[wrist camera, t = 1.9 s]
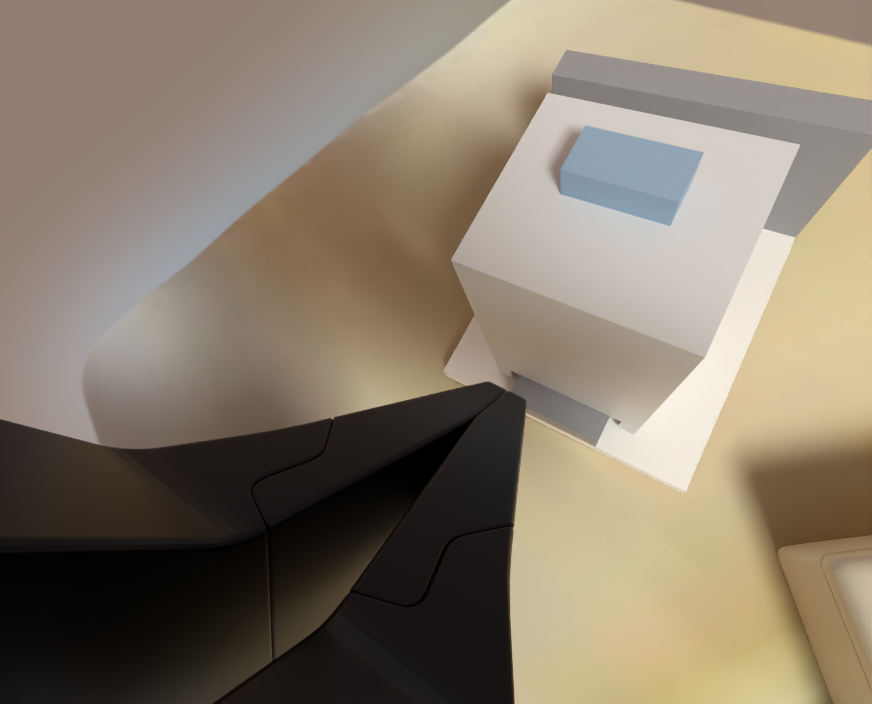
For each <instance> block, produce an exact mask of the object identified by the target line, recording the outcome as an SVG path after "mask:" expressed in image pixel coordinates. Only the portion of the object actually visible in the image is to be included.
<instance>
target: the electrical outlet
mask: <svg viewBox="0 0 872 704" xmlns="http://www.w3.org/2000/svg"><path fill="white" fill-rule="evenodd" d="M777 554H778V559H779V562H780V564H781V567H782V569H783V572H784V575H785V577H786V580H787V583H788V585H789V588H790V591H791V593H792V596H793V599H794V601H795V604H796V607H797V609H798V612H799V614H800V617H801V620H802V622H803V625H804V628H805V630H806V633H807V636H808V638H809V641H810V644H811V646H812V649H813V652H814V654H815V657H816V659H817V662H818V665H819V667H820V670H821V673H822V675H823V678H824V681H825V683H826V686H827V689H828V691H829V694H830V697H831V699H832V702H833V704H872V535H867V536H859V537H851V538H843V539H835V540H827V541H819V542H812V543H804V544H796V545H788V546H783V547H781V548H780V549H779V550H778V553H777Z"/></svg>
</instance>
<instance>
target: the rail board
mask: <svg viewBox="0 0 872 704" xmlns="http://www.w3.org/2000/svg"><path fill="white" fill-rule="evenodd" d="M552 94H556V95H561V96H566V97H571V98H576V99H581V100H585V101H590V102H595V103H600V104H605V105H610V106H615V107H620V108H624V109H629V110H634V111H639V112H644V113H649V114H654V115H658V116H663V117H668V118H673V119H678V120H683V121H688V122H693V123H697V124H702V125H707V126H712V127H717V128H722V129H727V130H731V131H736V132H741V133H746V134H751V135H756V136H761V137H766V138H770V139H775V140H780V141H785V142H790V143H795V144H800V147H799V149H798V151H797V153H796V156H795V158H794V160H793V162H792V165H791V167H790V169H789V171H788V174H787V176H786V178H785V180H784V182H783V185H782V187H781V189H780V191H779V194H778V196H777V198H776V200H775V203H774V205H773V207H772V209H771V211H770V214H769V216H768V218H767V220H766V223H765V225H764V227H763V229H762V232H761V234H760V236H759V238H758V240H757V243H756V245H755V247H754V249H753V252H752V254H751V256H750V258H749V261H748V263H747V265H746V267H745V269H744V272H743V274H742V276H741V278H740V281H739V283H738V285H737V287H736V290H735V292H734V294H733V296H732V298H731V301H730V303H729V305H728V307H727V310H726V312H725V314H724V316H723V318H722V321H721V323H720V325H719V327H718V330H717V332H716V334H715V336H714V339H713V341H712V343H711V345H710V347H709V350H708V352H707V354H706V356H705V358H704V359H703V360H702V361H701V362H700V364H699V365H698V366H697V367H696V368H695V369H694V370H693V371H692V372H691V373H690V374H689V375H688V377H687V378H686V379H685V380H684V381H683V382H682V383H681V384H680V385H679V386H678V387H677V388H676V390H675V391H674V392H673V393H672V394H671V395H670V396H669V397H668V398H667V399H666V400H665V401H664V403H663V404H662V405H661V406H660V407H659V408H658V409H657V410H656V411H655V412H654V413H653V414H652V416H651V417H650V418H649V419H648V420H647V421H646V422H645V423H644V424H643V425H642V426H641V427H640V429H639V430H638V431H637V432H636V433H635V434H634V435H633V434H631V433H629V432H627V431H625V430H623V429H621V428H619V427H618V425H619V423H620V421H619V420H616V419H614V418H612V417H610V416H608V415H606V414H603V413H601V412H599V411H597V410H595V409H593V408H590V407H588V406H586V405H584V404H582V403H580V402H578V401H575V400H573V399H571V398H569V397H567V396H565V395H562V394H560V393H558V392H556V391H554V390H552V389H549V388H547V387H545V386H543V385H541V384H539V383H536V382H534V381H532V380H530V379H528V378H526V377H523V376H521V375H519V374H517V373H515V375H514V377H513V378H512V377H510V376H507V375H505V374H503V373H501V372H500V371H499V369H498V367H497V364H496V362H495V360H494V358H493V355H492V353H491V351H490V348H489V346H488V344H487V342H486V339H485V337H484V335H483V332H482V330H481V328H480V326H479V323H478V321H477V319H476V317H475V315H474V317H473V318H472V320H471V322H470V324H469V326H468V327H467V329H466V331H465V333H464V335H463V336H462V338H461V340H460V342H459V344H458V345H457V347H456V349H455V351H454V353H453V354H452V356H451V358H450V360H449V362H448V363H447V365H446V367H445V369H444V370H443V372H444V373H445V375H446V376H447V377H449V378H451V379H453V380H455V381H457V382H459V383H461V384H463V385H465V386H469V385H473V384H477V383H482V382H487V381H489V382H492V383H494V384H496V385H498V386H500V387H502V388H504V389H506V391H510V392H512V393H514V394H516V395H519V396H521V397H523V398H525V399H526V401H527V406H526V415H525V416H527V417H530V418H532V419H534V420H536V421H538V422H540V423H542V424H544V425H546V426H548V427H550V428H552V429H554V430H556V431H558V432H560V433H562V434H564V435H566V436H568V437H570V438H572V439H574V440H576V441H578V442H580V443H582V444H584V445H586V446H588V447H590V448H592V449H594V450H596V451H598V452H600V453H602V454H604V455H606V456H608V457H610V458H612V459H614V460H616V461H618V462H620V463H622V464H624V465H626V466H628V467H630V468H632V469H634V470H636V471H638V472H640V473H642V474H644V475H646V476H648V477H650V478H652V479H654V480H656V481H658V482H660V483H662V484H665V485H667V486H669V487H671V488H673V489H675V490H677V491H679V492H685V491H686V490H687V488H688V485H689V483H690V481H691V478H692V476H693V474H694V471H695V469H696V467H697V464H698V462H699V460H700V457H701V455H702V453H703V450H704V448H705V446H706V444H707V441H708V439H709V437H710V434H711V432H712V430H713V427H714V425H715V423H716V420H717V418H718V416H719V413H720V411H721V409H722V406H723V404H724V402H725V400H726V397H727V395H728V393H729V390H730V388H731V386H732V383H733V381H734V379H735V376H736V374H737V372H738V369H739V367H740V365H741V363H742V360H743V358H744V356H745V353H746V351H747V349H748V346H749V344H750V342H751V339H752V337H753V335H754V332H755V330H756V328H757V325H758V323H759V321H760V319H761V316H762V314H763V312H764V309H765V307H766V305H767V302H768V300H769V298H770V295H771V293H772V291H773V288H774V286H775V284H776V281H777V279H778V277H779V275H780V272H781V270H782V268H783V265H784V263H785V261H786V258H787V256H788V254H789V251H790V249H791V247H792V244H793V242H794V240H795V238H796V236H797V235H798V234H799V233H800V232H801V230H802V229H803V228H804V227H805V226H806V225H807V223H808V222H809V221H810V220H811V219H812V217H813V216H814V215H815V214H816V213H817V212H818V210H819V209H820V208H821V207H822V206H823V205H824V203H825V202H826V201H827V200H828V199H829V197H830V196H831V195H832V194H833V193H834V192H835V190H836V189H837V188H838V187H839V186H840V185H841V183H842V182H843V181H844V180H845V179H846V177H847V176H848V175H849V174H850V173H851V172H852V170H853V169H854V168H855V167H856V166H857V164H858V163H859V162H860V161H861V160H862V159H863V157H864V156H865V155H866V154H867V153H868V152H869V150H870V149H871V148H872V101H871V100H865V99H859V98H853V97H847V96H841V95H835V94H829V93H823V92H817V91H811V90H805V89H799V88H793V87H787V86H781V85H775V84H769V83H763V82H757V81H751V80H745V79H739V78H733V77H726V76H720V75H714V74H708V73H702V72H696V71H690V70H684V69H678V68H672V67H666V66H660V65H654V64H648V63H642V62H636V61H630V60H624V59H618V58H612V57H606V56H600V55H594V54H588V53H582V52H575V51H569V50H566V52H565V53H564V55H563V57H562V58H561V60H560V62H559V64H558V65H557V67H556V69H555V70H554V72H553V74H552Z"/></svg>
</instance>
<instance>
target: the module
mask: <svg viewBox="0 0 872 704" xmlns="http://www.w3.org/2000/svg"><path fill="white" fill-rule="evenodd" d="M799 147H800V144H795V143H790V142H785V141H780V140H775V139H770V138H766V137H761V136H756V135H751V134H746V133H741V132H736V131H731V130H727V129H722V128H717V127H712V126H707V125H702V124H697V123H693V122H688V121H683V120H678V119H673V118H668V117H663V116H658V115H654V114H649V113H644V112H639V111H634V110H629V109H624V108H620V107H615V106H610V105H605V104H600V103H595V102H590V101H585V100H581V99H576V98H571V97H566V96H561V95H556V94H551V93H547V95H546V97H545V98H544V100H543V102H542V104H541V105H540V107H539V109H538V110H537V112H536V114H535V116H534V117H533V119H532V121H531V122H530V124H529V126H528V128H527V129H526V131H525V133H524V135H523V136H522V138H521V140H520V141H519V143H518V145H517V147H516V148H515V150H514V152H513V153H512V155H511V157H510V159H509V160H508V162H507V164H506V166H505V167H504V169H503V171H502V172H501V174H500V176H499V178H498V179H497V181H496V183H495V184H494V186H493V188H492V190H491V191H490V193H489V195H488V196H487V198H486V200H485V202H484V203H483V205H482V207H481V209H480V210H479V212H478V214H477V215H476V217H475V219H474V221H473V222H472V224H471V226H470V227H469V229H468V231H467V233H466V234H465V236H464V238H463V240H462V241H461V243H460V245H459V246H458V248H457V250H456V252H455V253H454V255H453V257H452V258H451V262H452V264H453V267H454V269H455V271H456V273H457V276H458V278H459V280H460V282H461V285H462V287H463V289H464V292H465V294H466V296H467V298H468V301H469V303H470V305H471V307H472V310H473V312H474V314H475V317H476V319H477V321H478V323H479V326H480V328H481V330H482V332H483V335H484V337H485V339H486V342H487V344H488V346H489V348H490V351H491V353H492V355H493V358H494V360H495V362H496V364H497V367H498V369H499V371H500V372H501V373H503V374H505V375H507V376H510V377H512V378H513V377H514V375H515V373H517V374H519V375H521V376H523V377H526V378H528V379H530V380H532V381H534V382H536V383H539V384H541V385H543V386H545V387H547V388H549V389H552V390H554V391H556V392H558V393H560V394H562V395H565V396H567V397H569V398H571V399H573V400H575V401H578V402H580V403H582V404H584V405H586V406H588V407H590V408H593V409H595V410H597V411H599V412H601V413H603V414H606V415H608V416H610V417H612V418H614V419H616V420H619V421H620V423H619V425H618V427H619V428H621V429H623V430H625V431H627V432H629V433H631V434H633V435H634V434H635V433H636V432H637V431H638V430H639V429H640V427H641V426H642V425H643V424H644V423H645V422H646V421H647V420H648V419H649V418H650V417H651V416H652V414H653V413H654V412H655V411H656V410H657V409H658V408H659V407H660V406H661V405H662V404H663V403H664V401H665V400H666V399H667V398H668V397H669V396H670V395H671V394H672V393H673V392H674V391H675V390H676V388H677V387H678V386H679V385H680V384H681V383H682V382H683V381H684V380H685V379H686V378H687V377H688V375H689V374H690V373H691V372H692V371H693V370H694V369H695V368H696V367H697V366H698V365H699V364H700V362H701V361H702V360H703V359H704V358H705V356H706V354H707V352H708V350H709V347H710V345H711V343H712V341H713V339H714V336H715V334H716V332H717V330H718V327H719V325H720V323H721V321H722V318H723V316H724V314H725V312H726V310H727V307H728V305H729V303H730V301H731V298H732V296H733V294H734V292H735V290H736V287H737V285H738V283H739V281H740V278H741V276H742V274H743V272H744V269H745V267H746V265H747V263H748V261H749V258H750V256H751V254H752V252H753V249H754V247H755V245H756V243H757V240H758V238H759V236H760V234H761V232H762V229H763V227H764V225H765V223H766V220H767V218H768V216H769V214H770V211H771V209H772V207H773V205H774V203H775V200H776V198H777V196H778V194H779V191H780V189H781V187H782V185H783V182H784V180H785V178H786V176H787V174H788V171H789V169H790V167H791V165H792V162H793V160H794V158H795V156H796V153H797V151H798V149H799Z"/></svg>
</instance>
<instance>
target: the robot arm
mask: <svg viewBox="0 0 872 704" xmlns="http://www.w3.org/2000/svg"><path fill="white" fill-rule="evenodd" d="M526 406H527V401H526V399H525V398H523V397H521V396H519V395H516V394H514V393H512V392H510V391H506V389H504V388H502V387H500V386H498V385H496V384H494V383H492V382H489V381H487V382H482V383H477V384H473V385H469V386H465V387H460V388H456V389H452V390H448V391H444V392H439V393H435V394H431V395H427V396H422V397H418V398H414V399H410V400H405V401H401V402H397V403H393V404H388V405H384V406H380V407H376V408H371V409H367V410H363V411H359V412H355V413H350V414H346V415H342V416H338V417H335V418H334V419H333V420H332V419H331V418H329V419H324V420H320V421H316V422H312V423H307V424H302V425H297V426H293V427H288V428H283V429H278V430H272V431H266V432H260V433H255V434H249V435H242V436H236V437H229V438H222V439H216V440H209V441H202V442H196V443H189V444H182V445H176V446H169V447H161V448H152V449H121V448H114V447H107V446H102V445H98V444H94V443H90V442H86V441H81V440H78V439H74V438H71V437H67V436H63V435H59V434H55V433H51V432H47V431H43V430H39V429H36V428H32V427H28V426H24V425H20V424H17V423H13V422H9V421H5V420H1V419H0V704H515V702H514V682H513V663H512V643H511V623H510V567H511V551H512V541H513V527H514V520H515V510H516V501H517V491H518V482H519V472H520V463H521V453H522V444H523V434H524V425H525V415H526Z"/></svg>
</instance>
